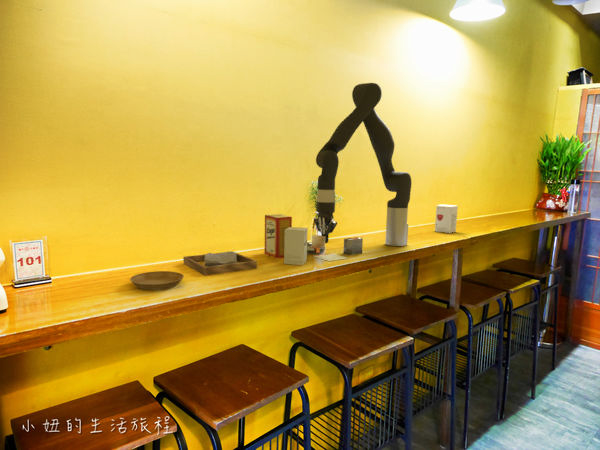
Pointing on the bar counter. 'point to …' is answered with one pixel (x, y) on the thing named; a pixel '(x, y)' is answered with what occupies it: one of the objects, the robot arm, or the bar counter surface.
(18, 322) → the bar counter surface
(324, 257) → the seat tile
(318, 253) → the sprocket base
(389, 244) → the robot arm
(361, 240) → the grey rectangular block
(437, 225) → the supplement box
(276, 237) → the baking soda box
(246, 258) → the wooden tray
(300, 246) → the supplement box
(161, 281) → the plant saucer
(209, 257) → the stone block
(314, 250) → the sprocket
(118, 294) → the bar counter surface
